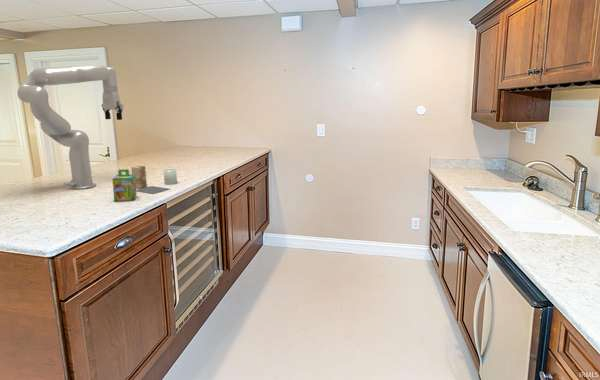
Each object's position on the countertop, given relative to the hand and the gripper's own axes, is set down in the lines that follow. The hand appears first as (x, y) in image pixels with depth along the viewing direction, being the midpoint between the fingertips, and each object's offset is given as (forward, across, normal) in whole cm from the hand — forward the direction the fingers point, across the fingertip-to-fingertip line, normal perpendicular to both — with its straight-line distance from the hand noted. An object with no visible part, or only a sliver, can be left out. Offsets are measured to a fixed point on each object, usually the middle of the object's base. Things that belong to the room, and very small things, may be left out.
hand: (113, 119), depth 221 cm
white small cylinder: (+36, +35, +6) cm, 51 cm away
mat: (+36, +39, -11) cm, 54 cm away
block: (+36, +28, -10) cm, 47 cm away
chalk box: (+37, +41, -30) cm, 63 cm away
